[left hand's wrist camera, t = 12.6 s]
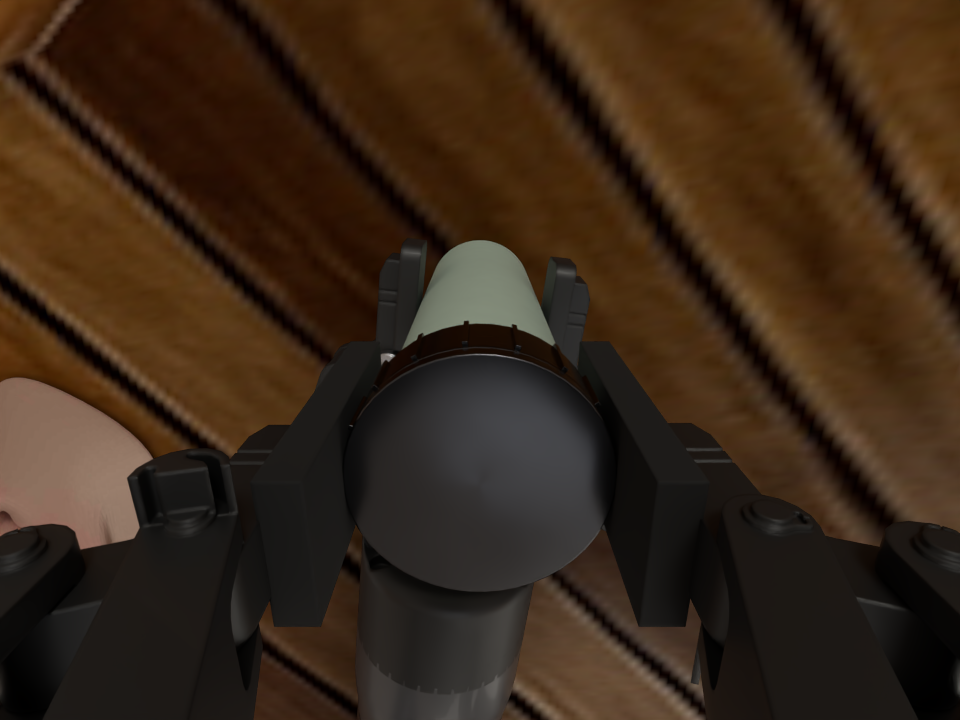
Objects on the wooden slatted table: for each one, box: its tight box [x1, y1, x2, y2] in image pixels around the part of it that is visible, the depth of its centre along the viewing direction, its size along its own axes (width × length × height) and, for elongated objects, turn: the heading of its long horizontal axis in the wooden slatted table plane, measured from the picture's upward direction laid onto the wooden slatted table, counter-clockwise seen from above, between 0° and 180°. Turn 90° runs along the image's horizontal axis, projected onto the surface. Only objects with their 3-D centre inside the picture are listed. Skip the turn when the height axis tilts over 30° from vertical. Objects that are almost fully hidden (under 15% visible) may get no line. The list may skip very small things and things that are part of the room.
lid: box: [342, 321, 617, 592], centre depth 11 cm, size 5×5×2 cm
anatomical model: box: [0, 378, 153, 549], centre depth 28 cm, size 13×4×12 cm
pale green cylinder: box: [402, 240, 556, 349], centre depth 18 cm, size 5×5×16 cm
